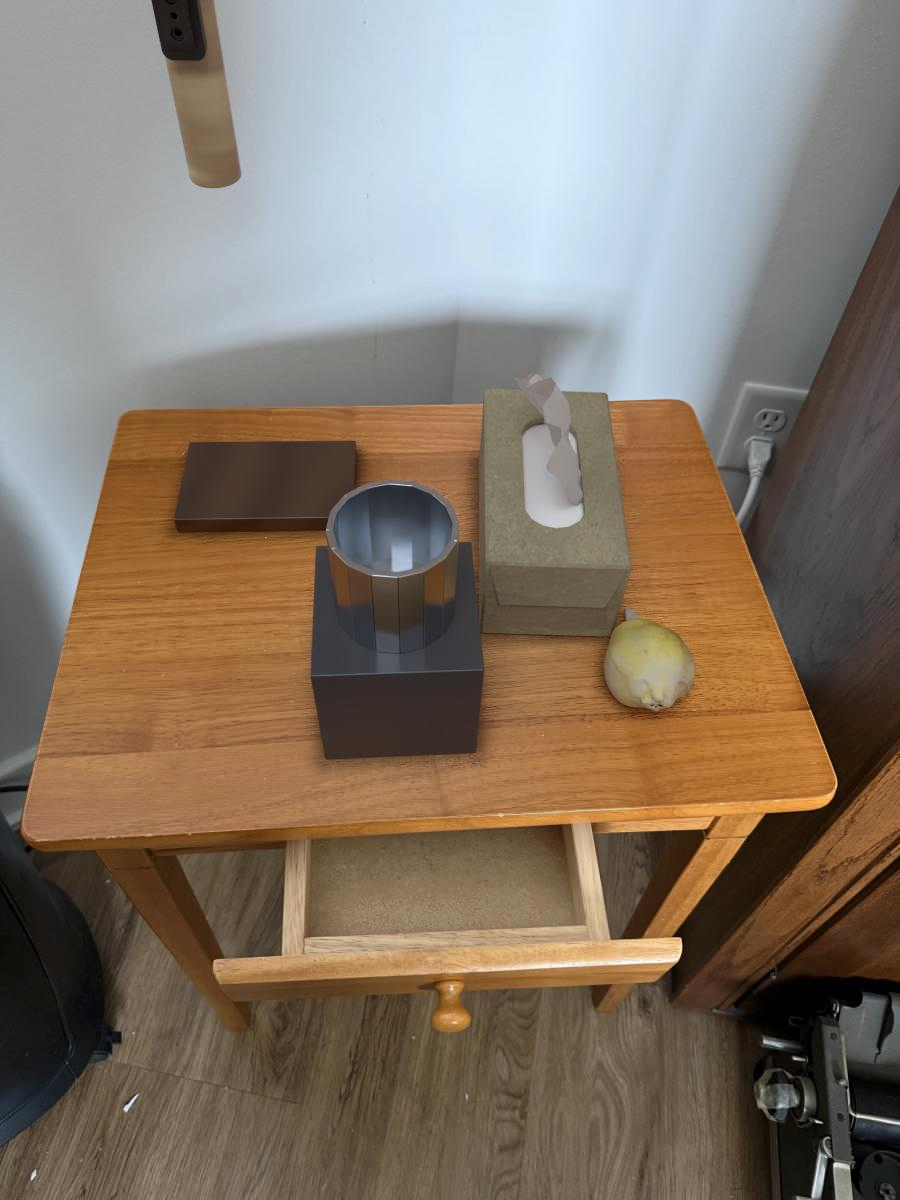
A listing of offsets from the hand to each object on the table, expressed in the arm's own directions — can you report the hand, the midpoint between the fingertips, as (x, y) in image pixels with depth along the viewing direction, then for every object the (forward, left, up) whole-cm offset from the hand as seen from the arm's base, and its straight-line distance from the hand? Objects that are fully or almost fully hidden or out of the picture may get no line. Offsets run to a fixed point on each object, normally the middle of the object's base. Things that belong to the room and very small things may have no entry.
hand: (190, 42), depth 47 cm
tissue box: (+21, +6, -34) cm, 41 cm away
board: (-1, 0, -34) cm, 34 cm away
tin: (+18, -12, -24) cm, 32 cm away
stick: (0, 0, -7) cm, 7 cm away
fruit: (+32, -2, -34) cm, 47 cm away
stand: (+18, -12, -34) cm, 40 cm away
